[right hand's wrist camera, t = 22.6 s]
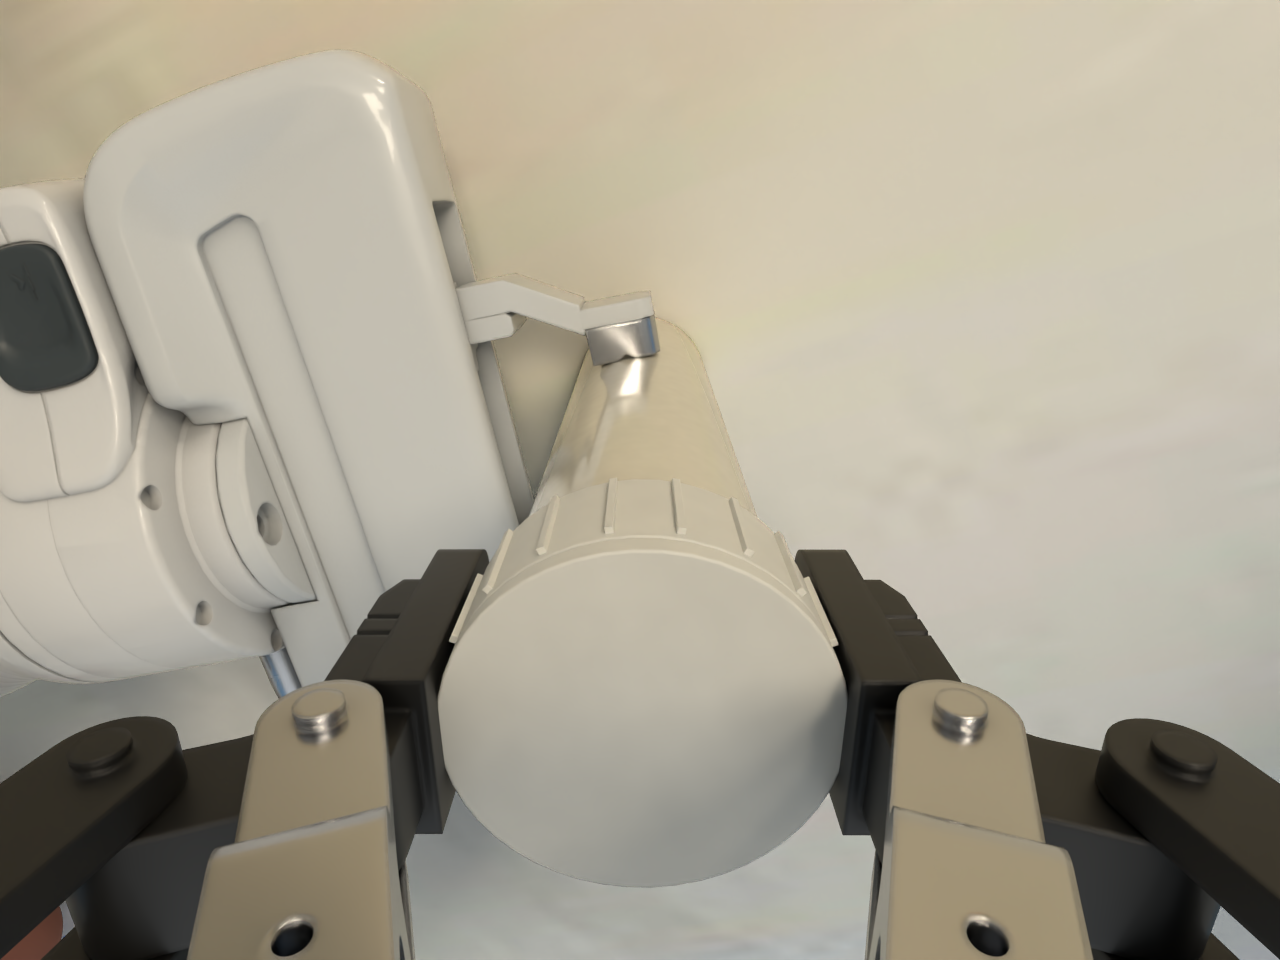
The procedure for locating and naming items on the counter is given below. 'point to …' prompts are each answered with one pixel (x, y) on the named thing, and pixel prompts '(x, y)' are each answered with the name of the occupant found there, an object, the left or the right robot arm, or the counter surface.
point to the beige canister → (644, 426)
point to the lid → (642, 688)
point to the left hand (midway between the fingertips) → (674, 421)
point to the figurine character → (39, 939)
